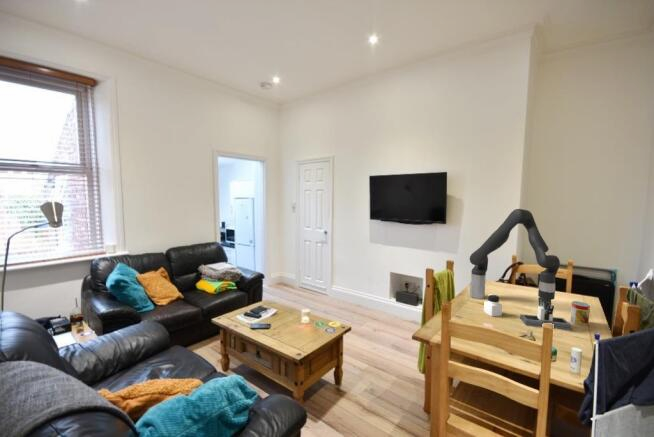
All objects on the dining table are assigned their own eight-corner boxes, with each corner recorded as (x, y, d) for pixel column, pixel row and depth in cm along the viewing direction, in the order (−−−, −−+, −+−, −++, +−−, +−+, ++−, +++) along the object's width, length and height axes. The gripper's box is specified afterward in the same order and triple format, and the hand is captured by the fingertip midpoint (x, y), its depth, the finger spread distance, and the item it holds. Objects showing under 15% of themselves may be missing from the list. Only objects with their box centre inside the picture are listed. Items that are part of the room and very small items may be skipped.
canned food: (591, 327, 164) (593, 306, 163) (576, 325, 166) (577, 305, 165) (582, 320, 172) (583, 301, 171) (567, 319, 173) (568, 300, 172)
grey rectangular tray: (526, 325, 166) (526, 320, 166) (519, 318, 176) (519, 313, 176) (571, 330, 161) (571, 325, 160) (562, 322, 170) (562, 317, 170)
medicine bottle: (501, 315, 179) (502, 297, 178) (491, 316, 178) (492, 297, 177) (493, 311, 186) (494, 293, 185) (483, 312, 185) (484, 293, 184)
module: (540, 320, 167) (541, 306, 166) (537, 317, 171) (538, 304, 170) (552, 321, 165) (553, 308, 165) (549, 318, 169) (550, 305, 168)
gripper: (533, 285, 174) (532, 312, 176) (544, 293, 160) (542, 322, 162) (548, 286, 172) (546, 313, 174) (560, 294, 159) (558, 324, 160)
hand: (544, 318), depth 168 cm, fingers closed on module, 4 cm apart
